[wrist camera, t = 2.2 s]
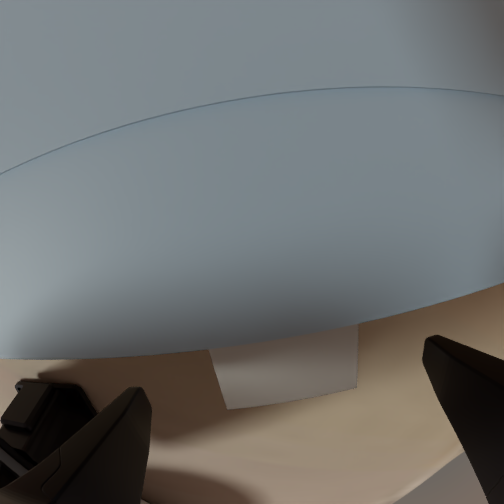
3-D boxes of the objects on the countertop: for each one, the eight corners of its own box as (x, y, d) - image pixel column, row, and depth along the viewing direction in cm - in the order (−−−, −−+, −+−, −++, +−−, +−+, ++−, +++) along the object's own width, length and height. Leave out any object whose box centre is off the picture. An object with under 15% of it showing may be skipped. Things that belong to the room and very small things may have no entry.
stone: (328, 322, 16) (356, 387, 11) (231, 338, 16) (227, 410, 11) (320, 227, 14) (357, 268, 9) (209, 245, 14) (193, 296, 9)
